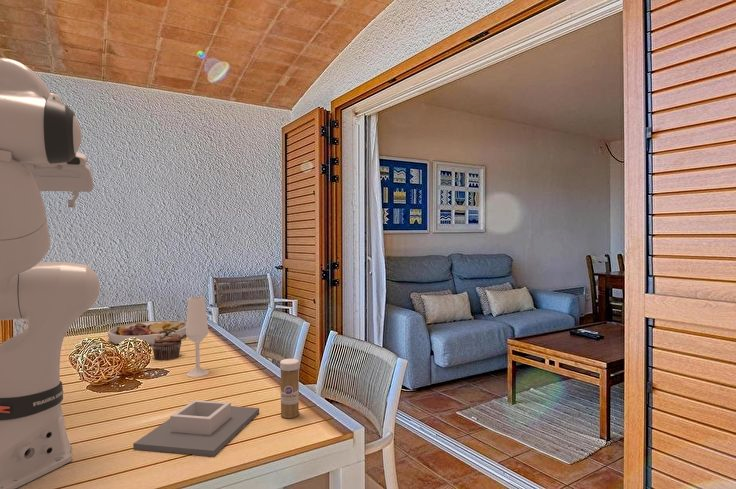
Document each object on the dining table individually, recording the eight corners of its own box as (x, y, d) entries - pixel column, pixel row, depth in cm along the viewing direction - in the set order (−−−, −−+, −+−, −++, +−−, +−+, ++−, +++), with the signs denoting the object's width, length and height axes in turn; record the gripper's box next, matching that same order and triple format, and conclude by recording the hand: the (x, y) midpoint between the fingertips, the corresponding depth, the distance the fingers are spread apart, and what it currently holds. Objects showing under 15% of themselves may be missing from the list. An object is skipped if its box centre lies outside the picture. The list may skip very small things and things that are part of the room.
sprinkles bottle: (281, 420, 108) (281, 364, 108) (279, 412, 113) (279, 358, 112) (300, 417, 110) (300, 362, 109) (298, 410, 114) (297, 357, 114)
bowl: (123, 333, 202) (122, 315, 202) (194, 330, 208) (193, 312, 207) (95, 350, 173) (95, 330, 173) (179, 346, 178) (179, 326, 178)
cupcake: (177, 352, 169) (176, 325, 169) (184, 357, 162) (184, 329, 161) (149, 356, 163) (148, 328, 163) (155, 362, 156) (155, 333, 155)
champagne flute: (186, 371, 146) (185, 296, 145) (208, 369, 148) (207, 295, 147) (186, 377, 140) (184, 299, 139) (209, 375, 142) (208, 298, 141)
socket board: (213, 456, 91) (213, 433, 91) (133, 449, 94) (132, 426, 94) (259, 412, 113) (259, 394, 113) (192, 408, 116) (192, 389, 116)
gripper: (-7, 154, 110) (-1, 209, 115) (91, 159, 121) (94, 210, 125) (-2, 150, 116) (3, 203, 120) (92, 155, 126) (94, 204, 130)
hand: (50, 206), depth 122 cm, fingers open, 8 cm apart
